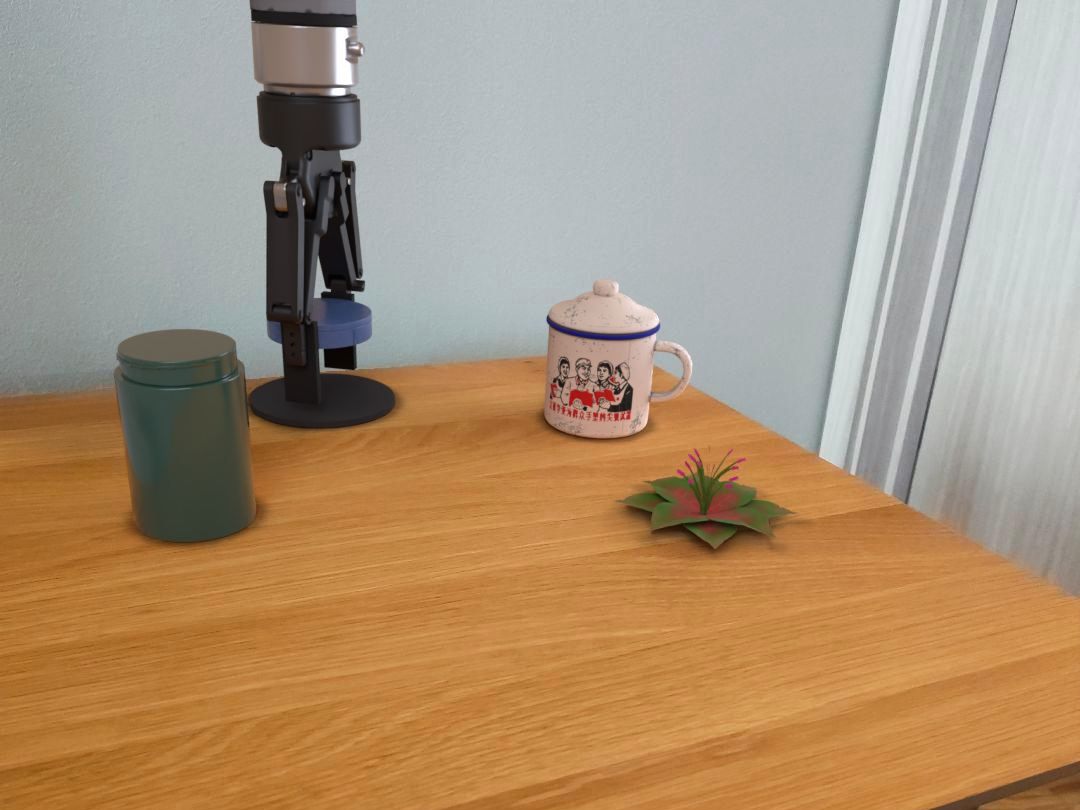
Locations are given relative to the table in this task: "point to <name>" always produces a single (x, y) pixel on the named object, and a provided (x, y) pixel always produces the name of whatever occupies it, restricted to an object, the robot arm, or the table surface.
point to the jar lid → (335, 323)
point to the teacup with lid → (604, 364)
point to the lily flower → (706, 504)
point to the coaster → (325, 402)
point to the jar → (185, 434)
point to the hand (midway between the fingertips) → (322, 383)
